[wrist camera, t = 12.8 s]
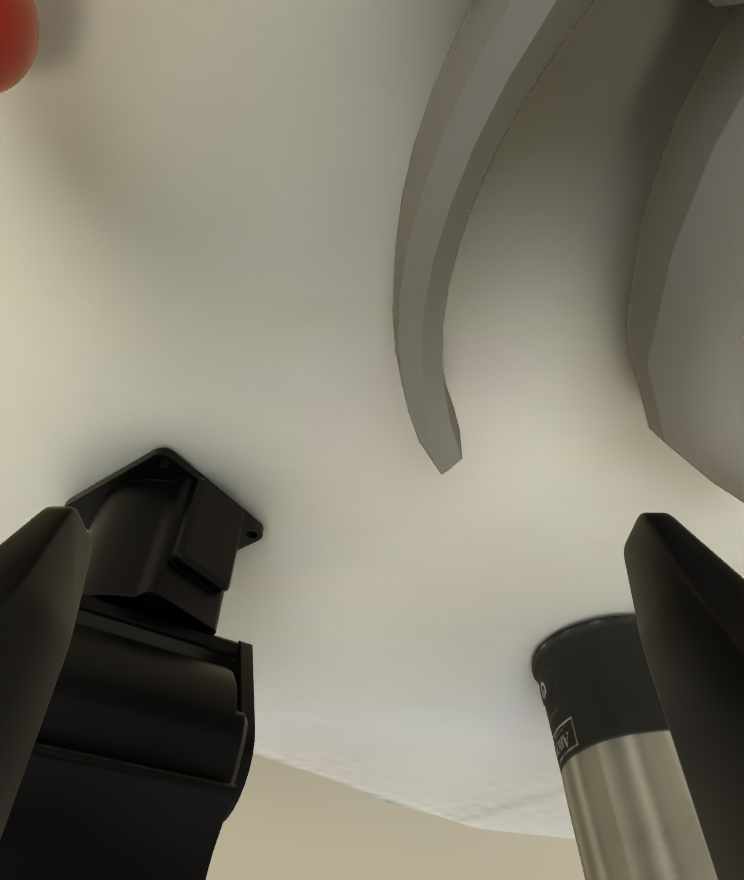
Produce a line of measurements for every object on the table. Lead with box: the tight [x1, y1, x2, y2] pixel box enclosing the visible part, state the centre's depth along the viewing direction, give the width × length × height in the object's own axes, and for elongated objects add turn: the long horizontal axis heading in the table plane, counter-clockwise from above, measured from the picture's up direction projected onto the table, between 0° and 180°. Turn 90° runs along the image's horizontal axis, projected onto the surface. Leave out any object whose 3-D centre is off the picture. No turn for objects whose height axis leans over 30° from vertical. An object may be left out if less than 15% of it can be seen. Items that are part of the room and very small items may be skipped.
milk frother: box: [532, 616, 718, 880], centre depth 32 cm, size 14×16×15 cm
